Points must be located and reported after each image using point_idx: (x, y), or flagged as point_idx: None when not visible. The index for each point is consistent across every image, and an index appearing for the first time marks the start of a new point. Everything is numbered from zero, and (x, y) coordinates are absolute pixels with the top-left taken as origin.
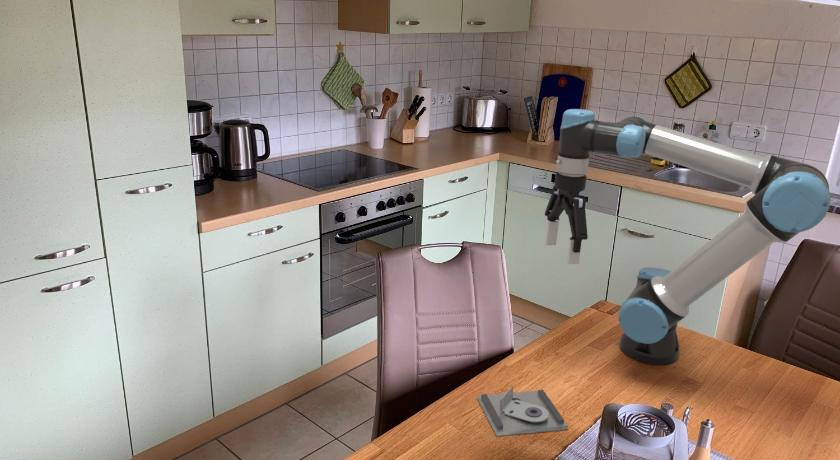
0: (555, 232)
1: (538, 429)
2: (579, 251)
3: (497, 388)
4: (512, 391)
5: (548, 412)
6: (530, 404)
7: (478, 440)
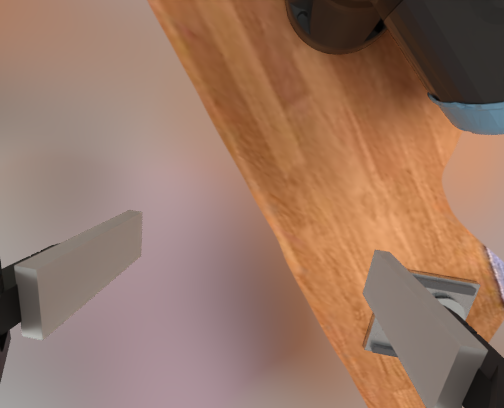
0: (99, 247)
1: (464, 319)
2: (452, 314)
3: (350, 312)
4: None
5: (453, 300)
6: None
7: None
